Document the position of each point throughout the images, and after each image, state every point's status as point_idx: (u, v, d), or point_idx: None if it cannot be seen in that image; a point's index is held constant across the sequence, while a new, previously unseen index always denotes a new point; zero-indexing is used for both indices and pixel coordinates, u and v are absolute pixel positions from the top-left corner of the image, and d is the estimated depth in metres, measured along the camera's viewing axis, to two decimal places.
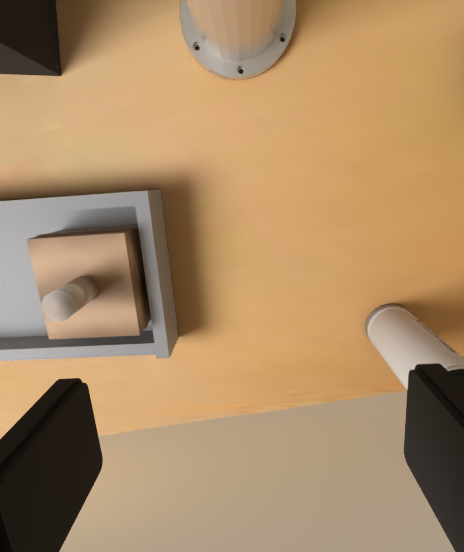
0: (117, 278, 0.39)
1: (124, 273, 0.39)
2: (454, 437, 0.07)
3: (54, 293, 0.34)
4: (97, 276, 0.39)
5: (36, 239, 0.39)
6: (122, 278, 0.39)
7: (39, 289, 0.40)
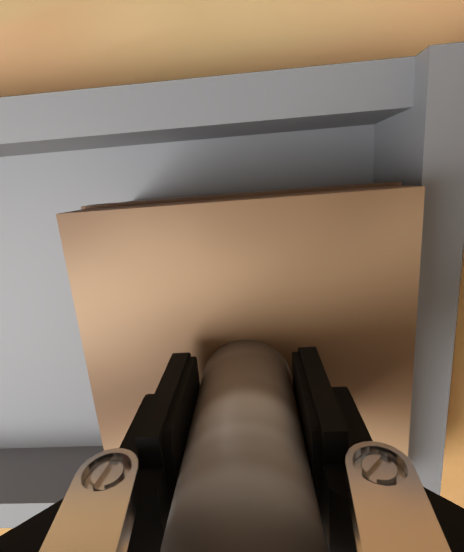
0: (366, 348, 0.12)
1: (394, 332, 0.11)
2: (302, 405, 0.09)
3: (242, 501, 0.06)
4: (296, 341, 0.12)
5: (91, 214, 0.11)
6: (384, 349, 0.11)
7: (95, 380, 0.12)
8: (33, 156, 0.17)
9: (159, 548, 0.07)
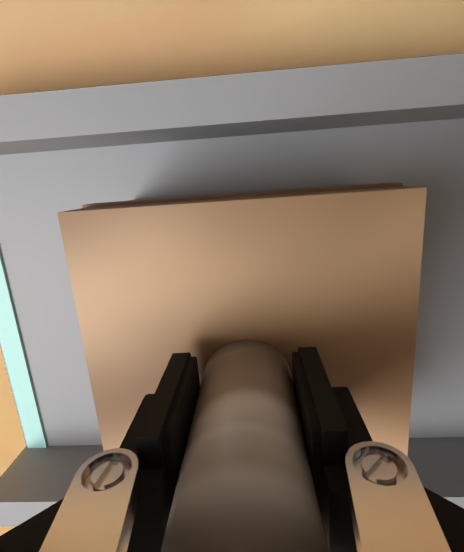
0: (366, 348, 0.12)
1: (395, 332, 0.11)
2: (302, 405, 0.09)
3: (243, 501, 0.06)
4: (297, 341, 0.12)
5: (92, 212, 0.11)
6: (384, 349, 0.11)
7: (95, 379, 0.12)
8: (185, 142, 0.17)
9: (159, 548, 0.07)
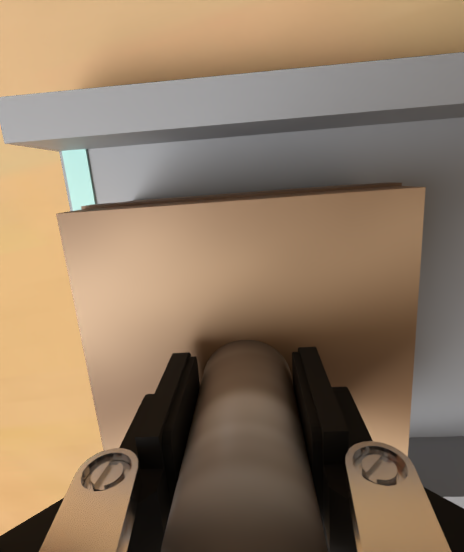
0: (366, 348, 0.12)
1: (394, 332, 0.11)
2: (302, 405, 0.09)
3: (242, 502, 0.06)
4: (296, 341, 0.12)
5: (91, 214, 0.11)
6: (384, 349, 0.11)
7: (95, 380, 0.12)
8: (303, 133, 0.17)
9: (159, 548, 0.07)
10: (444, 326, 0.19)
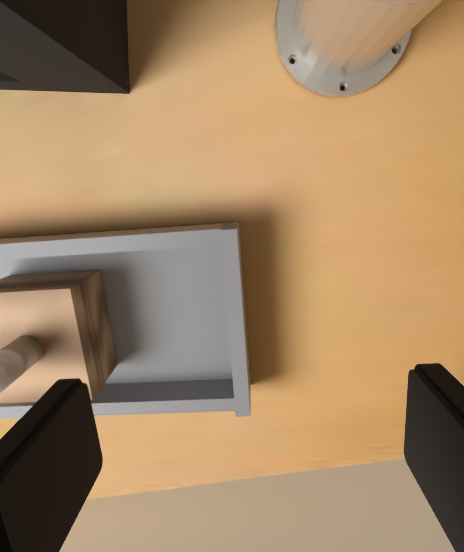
0: (64, 338, 0.35)
1: (72, 332, 0.34)
2: (454, 437, 0.07)
3: None
4: (41, 336, 0.35)
5: None
6: (70, 338, 0.35)
7: None
8: None
9: None
10: (153, 330, 0.42)
